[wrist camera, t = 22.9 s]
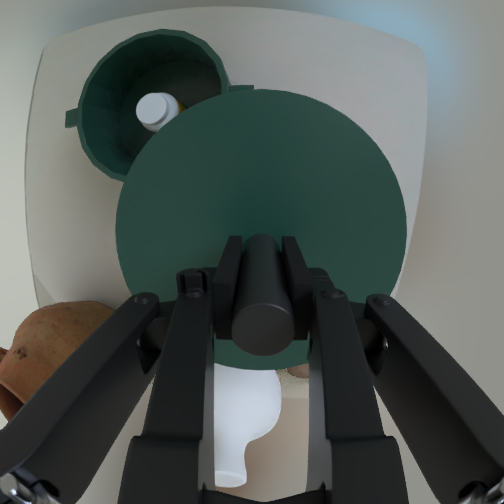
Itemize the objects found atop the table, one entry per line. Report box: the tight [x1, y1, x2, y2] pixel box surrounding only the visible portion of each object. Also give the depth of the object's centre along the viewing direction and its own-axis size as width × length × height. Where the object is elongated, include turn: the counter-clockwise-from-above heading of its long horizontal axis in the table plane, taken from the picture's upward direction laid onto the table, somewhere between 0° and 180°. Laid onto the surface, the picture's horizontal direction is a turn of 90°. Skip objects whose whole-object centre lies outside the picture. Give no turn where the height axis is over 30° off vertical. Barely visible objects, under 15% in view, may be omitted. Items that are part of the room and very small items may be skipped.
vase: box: [214, 363, 281, 487], centre depth 37 cm, size 14×14×28 cm
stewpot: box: [65, 29, 254, 182], centre depth 32 cm, size 20×25×12 cm
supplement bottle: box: [136, 93, 187, 132], centre depth 33 cm, size 5×5×10 cm
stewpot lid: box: [115, 89, 407, 370], centre depth 15 cm, size 21×21×10 cm
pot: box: [0, 301, 114, 422], centre depth 36 cm, size 24×24×30 cm
